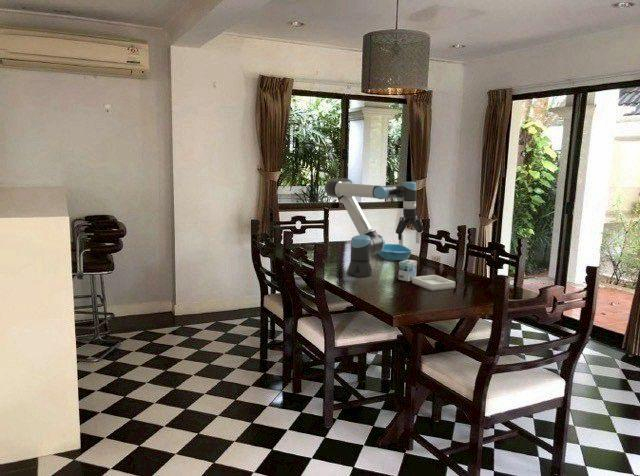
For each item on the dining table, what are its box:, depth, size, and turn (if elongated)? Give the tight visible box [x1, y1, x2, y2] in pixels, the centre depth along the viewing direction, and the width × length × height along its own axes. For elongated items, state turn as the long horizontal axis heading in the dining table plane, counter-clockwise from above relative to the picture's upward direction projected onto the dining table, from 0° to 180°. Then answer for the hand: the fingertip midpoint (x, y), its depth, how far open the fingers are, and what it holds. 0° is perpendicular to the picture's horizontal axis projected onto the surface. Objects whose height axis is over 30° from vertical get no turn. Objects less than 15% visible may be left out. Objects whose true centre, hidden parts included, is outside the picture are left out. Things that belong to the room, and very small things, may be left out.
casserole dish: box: [377, 243, 412, 261], centre depth 363 cm, size 37×22×7 cm, turn 8°
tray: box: [411, 274, 456, 292], centre depth 284 cm, size 16×18×4 cm
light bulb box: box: [398, 258, 418, 282], centre depth 297 cm, size 11×7×11 cm, turn 143°
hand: (409, 244), depth 298 cm, fingers open, 13 cm apart
